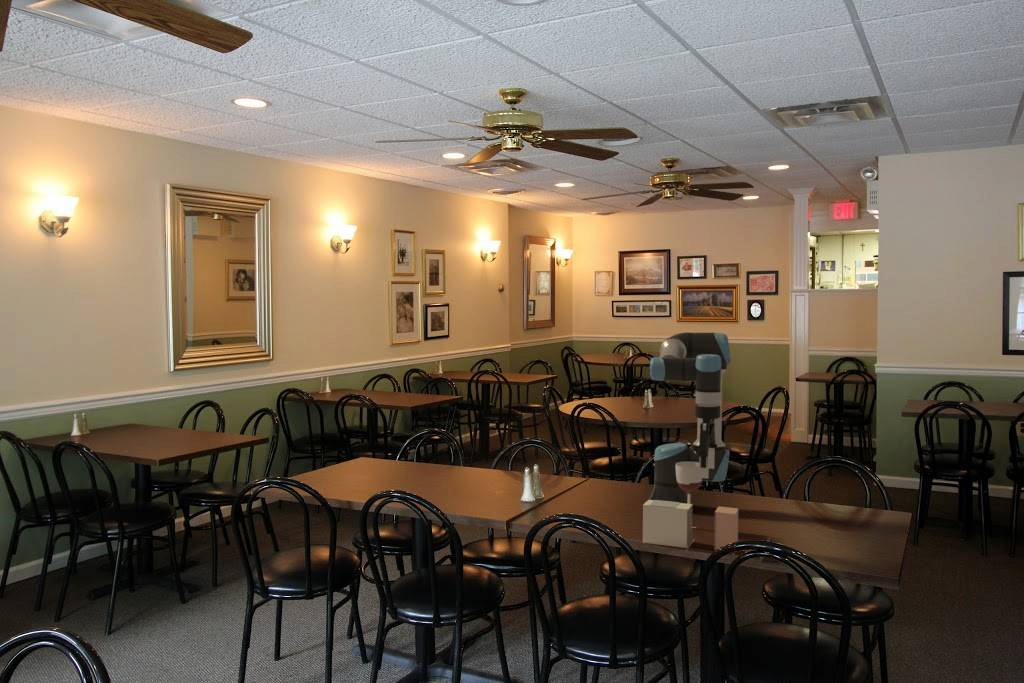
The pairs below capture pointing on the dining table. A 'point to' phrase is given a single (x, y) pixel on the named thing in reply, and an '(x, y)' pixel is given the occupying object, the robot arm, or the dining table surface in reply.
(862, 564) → the dining table surface
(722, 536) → the stub
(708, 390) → the robot arm
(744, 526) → the dining table surface
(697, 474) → the wineglass
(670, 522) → the beige rectangular block
